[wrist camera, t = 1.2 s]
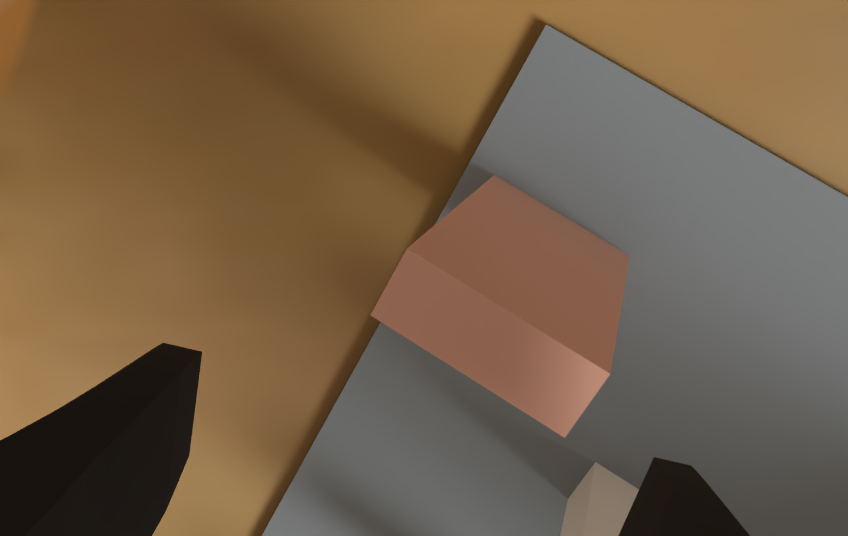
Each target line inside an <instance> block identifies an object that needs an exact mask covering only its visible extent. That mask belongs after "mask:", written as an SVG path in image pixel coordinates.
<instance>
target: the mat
mask: <svg viewBox="0 0 848 536" xmlns="http://www.w3.org/2000/svg"><path fill="white" fill-rule="evenodd" d="M494 175H496V176H497V177H499V178H501V179H502V180H504V181H506V182H507V183H509V184H511V185H512V186H514V187H516V188H517V189H519V190H521V191H522V192H524V193H526V194H527V195H529V196H531V197H532V198H534V199H536V200H537V201H539V202H541V203H542V204H544V205H546V206H547V207H549V208H551V209H552V210H554V211H556V212H557V213H559V214H561V215H562V216H564V217H566V218H567V219H569V220H571V221H572V222H574V223H576V224H577V225H579V226H581V227H582V228H584V229H586V230H587V231H589V232H591V233H592V234H594V235H596V236H597V237H599V238H601V239H602V240H604V241H606V242H608V243H609V244H611V245H613V246H614V247H616V248H618V249H619V250H621V251H623V252H624V253H626V254H628V255H629V256H630V257H629V263H628V269H627V276H626V282H625V288H624V294H623V300H622V306H621V312H620V318H619V324H618V330H617V337H616V343H615V349H614V355H613V361H612V367H611V373H610V375H609V377H608V378H607V379H606V381H605V382H604V384H603V385H602V386H601V388H600V389H599V391H598V392H597V393H596V395H595V396H594V398H593V399H592V400H591V402H590V403H589V405H588V406H587V407H586V409H585V410H584V412H583V413H582V414H581V416H580V417H579V419H578V420H577V421H576V423H575V424H574V426H573V427H572V428H571V430H570V431H569V433H568V434H567V435H566V437H565V438H564V437H563V436H561V435H559V434H558V433H556V432H555V431H553V430H551V429H550V428H548V427H547V426H545V425H544V424H542V423H540V422H539V421H537V420H536V419H534V418H532V417H531V416H529V415H528V414H526V413H524V412H523V411H521V410H520V409H518V408H517V407H515V406H513V405H512V404H510V403H509V402H507V401H505V400H504V399H502V398H501V397H499V396H498V395H496V394H494V393H493V392H491V391H490V390H488V389H486V388H485V387H483V386H482V385H480V384H478V383H477V382H475V381H474V380H472V379H471V378H469V377H467V376H466V375H464V374H463V373H461V372H459V371H458V370H456V369H455V368H453V367H451V366H450V365H448V364H447V363H445V362H444V361H442V360H440V359H439V358H437V357H436V356H434V355H432V354H431V353H429V352H428V351H426V350H425V349H423V348H421V347H420V346H418V345H417V344H415V343H413V342H412V341H410V340H409V339H407V338H405V337H404V336H402V335H401V334H399V333H398V332H396V331H394V330H393V329H391V328H390V327H388V326H386V325H385V324H383V323H382V322H380V324H379V326H378V328H377V329H376V331H375V333H374V335H373V337H372V338H371V340H370V342H369V344H368V346H367V347H366V349H365V351H364V353H363V355H362V356H361V358H360V360H359V362H358V364H357V365H356V367H355V369H354V371H353V372H352V374H351V376H350V378H349V380H348V381H347V383H346V385H345V387H344V389H343V390H342V392H341V394H340V396H339V398H338V399H337V401H336V403H335V405H334V407H333V408H332V410H331V412H330V414H329V416H328V417H327V419H326V421H325V423H324V425H323V426H322V428H321V430H320V432H319V434H318V435H317V437H316V439H315V441H314V443H313V444H312V446H311V448H310V450H309V452H308V453H307V455H306V457H305V459H304V461H303V462H302V464H301V466H300V468H299V470H298V471H297V473H296V475H295V477H294V479H293V480H292V482H291V484H290V486H289V488H288V489H287V491H286V493H285V495H284V497H283V498H282V500H281V502H280V504H279V506H278V507H277V509H276V511H275V513H274V515H273V516H272V518H271V520H270V522H269V524H268V525H267V527H266V529H265V531H264V532H263V534H262V536H560V534H561V529H562V525H563V520H564V515H565V510H566V506H567V501H568V498H569V497H570V496H571V494H572V493H573V492H574V490H575V489H576V488H577V486H578V485H579V483H580V482H581V481H582V479H583V478H584V477H585V475H586V474H587V473H588V471H589V470H590V469H591V467H592V466H593V465H594V463H595V462H596V463H598V464H599V465H601V466H603V467H604V468H606V469H607V470H609V471H611V472H612V473H614V474H615V475H617V476H618V477H620V478H622V479H623V480H625V481H626V482H628V483H630V484H631V485H633V486H634V487H636V488H637V489H640V487H641V484H642V482H643V480H644V478H645V476H646V473H647V471H648V469H649V467H650V465H651V462H652V460H653V458H654V457H656V458H661V459H665V460H669V461H674V462H678V463H682V464H687V465H691V466H692V467H693V468H694V469H695V470H696V471H697V472H698V473H699V474H700V476H701V477H702V478H703V479H704V480H705V481H706V482H707V484H708V485H709V486H710V487H711V488H712V490H713V491H714V492H715V493H716V495H717V496H718V497H719V498H720V499H721V501H722V502H723V503H724V504H725V506H726V507H727V508H728V509H729V510H730V512H731V513H732V514H733V515H734V517H735V518H736V519H737V520H738V522H739V523H740V524H741V525H742V526H743V528H744V529H745V530H746V531H747V533H748V534H749V535H750V536H848V196H846V195H845V194H843V193H841V192H839V191H838V190H836V189H834V188H832V187H831V186H829V185H827V184H825V183H824V182H822V181H820V180H818V179H817V178H815V177H813V176H811V175H810V174H808V173H806V172H804V171H803V170H801V169H799V168H797V167H796V166H794V165H792V164H790V163H789V162H787V161H785V160H783V159H782V158H780V157H778V156H776V155H775V154H773V153H771V152H769V151H768V150H766V149H764V148H762V147H761V146H759V145H757V144H755V143H754V142H752V141H750V140H749V139H747V138H745V137H743V136H742V135H740V134H738V133H736V132H735V131H733V130H731V129H729V128H728V127H726V126H724V125H722V124H721V123H719V122H717V121H715V120H714V119H712V118H710V117H708V116H707V115H705V114H703V113H701V112H700V111H698V110H696V109H694V108H693V107H691V106H689V105H687V104H686V103H684V102H682V101H680V100H679V99H677V98H675V97H673V96H672V95H670V94H668V93H666V92H665V91H663V90H661V89H659V88H658V87H656V86H654V85H652V84H651V83H649V82H647V81H645V80H644V79H642V78H640V77H638V76H637V75H635V74H633V73H632V72H630V71H628V70H626V69H625V68H623V67H621V66H619V65H618V64H616V63H614V62H612V61H611V60H609V59H607V58H605V57H604V56H602V55H600V54H598V53H597V52H595V51H593V50H591V49H590V48H588V47H586V46H584V45H583V44H581V43H579V42H577V41H576V40H574V39H572V38H570V37H569V36H567V35H565V34H563V33H562V32H560V31H558V30H556V29H555V28H553V27H551V26H549V25H546V26H545V27H544V29H543V31H542V33H541V35H540V36H539V38H538V40H537V42H536V43H535V45H534V47H533V49H532V51H531V52H530V54H529V56H528V58H527V60H526V61H525V63H524V65H523V67H522V69H521V70H520V72H519V74H518V76H517V78H516V79H515V81H514V83H513V85H512V87H511V88H510V90H509V92H508V94H507V96H506V97H505V99H504V101H503V103H502V105H501V106H500V108H499V110H498V112H497V114H496V115H495V117H494V119H493V121H492V123H491V124H490V126H489V128H488V130H487V132H486V133H485V135H484V137H483V139H482V141H481V142H480V144H479V146H478V148H477V150H476V151H475V153H474V155H473V157H472V159H471V160H470V162H469V164H468V166H467V168H466V169H465V171H464V173H463V175H462V177H461V178H460V180H459V182H458V184H457V186H456V187H455V189H454V191H453V193H452V195H451V196H450V198H449V200H448V202H447V203H446V205H445V207H444V209H443V211H442V212H441V214H440V216H439V218H438V220H437V221H436V223H435V224H437V223H438V222H439V221H440V220H441V219H442V218H444V217H445V216H446V215H447V214H448V213H450V212H451V211H452V210H453V209H454V208H456V207H457V206H458V205H459V204H460V203H462V202H463V201H464V200H465V199H466V198H467V197H469V196H470V195H471V194H472V193H473V192H475V191H476V190H477V189H478V188H479V187H481V186H482V185H483V184H484V183H485V182H487V181H488V180H489V179H490V178H491V177H492V176H494Z"/></svg>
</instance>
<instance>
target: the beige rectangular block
mask: <svg viewBox="0 0 848 536" xmlns="http://www.w3.org/2000/svg"><path fill="white" fill-rule="evenodd" d="M638 491H639V489H637V488H636V487H634V486H633V485H631V484H630V483H628V482H626V481H625V480H623V479H622V478H620V477H618V476H617V475H615V474H614V473H612V472H611V471H609V470H607V469H606V468H604V467H603V466H601V465H599V464H598V463H596V462H595V463H594V465H593V466H592V467H591V469H590V470H589V471H588V473H587V474H586V475H585V477H584V478H583V479H582V481H581V482H580V483H579V485H578V486H577V488H576V489H575V490H574V492H573V493H572V494H571V496H570V497H569V498H568V501H567V506H566V510H565V515H564V520H563V525H562V529H561V534H560V536H618V535H619V533H620V531H621V529H622V527H623V524H624V522H625V520H626V518H627V515H628V513H629V511H630V509H631V507H632V504H633V502H634V500H635V498H636V496H637V493H638Z"/></svg>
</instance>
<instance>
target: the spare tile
mask: <svg viewBox="0 0 848 536" xmlns="http://www.w3.org/2000/svg"><path fill="white" fill-rule="evenodd" d="M629 257H630V256H629V255H628V254H626V253H624V252H623V251H621V250H619V249H618V248H616V247H614V246H613V245H611V244H609V243H608V242H606V241H604V240H602V239H601V238H599V237H597V236H596V235H594V234H592V233H591V232H589V231H587V230H586V229H584V228H582V227H581V226H579V225H577V224H576V223H574V222H572V221H571V220H569V219H567V218H566V217H564V216H562V215H561V214H559V213H557V212H556V211H554V210H552V209H551V208H549V207H547V206H546V205H544V204H542V203H541V202H539V201H537V200H536V199H534V198H532V197H531V196H529V195H527V194H526V193H524V192H522V191H521V190H519V189H517V188H516V187H514V186H512V185H511V184H509V183H507V182H506V181H504V180H502V179H501V178H499V177H497V176H496V175H494V176H492V177H491V178H490V179H489V180H488V181H487V182H485V183H484V184H483V185H482V186H481V187H479V188H478V189H477V190H476V191H475V192H473V193H472V194H471V195H470V196H469V197H467V198H466V199H465V200H464V201H463V202H462V203H460V204H459V205H458V206H457V207H456V208H454V209H453V210H452V211H451V212H450V213H448V214H447V215H446V216H445V217H444V218H442V219H441V220H440V221H439V222H438V223H437V224H435V225H434V226H433V227H432V228H431V229H429V230H428V231H427V232H426V233H425V234H423V235H422V236H421V237H420V238H419V239H417V240H416V241H415V242H414V243H413V244H411V245H410V246H409V247H408V248H407V249H406V251H405V253H404V255H403V256H402V258H401V260H400V262H399V264H398V266H397V267H396V269H395V271H394V273H393V275H392V276H391V278H390V280H389V282H388V284H387V286H386V287H385V289H384V291H383V293H382V295H381V297H380V298H379V300H378V302H377V304H376V306H375V307H374V309H373V311H372V313H371V316H372V317H374V318H375V319H377V320H379V321H380V322H382V323H383V324H385V325H386V326H388V327H390V328H391V329H393V330H394V331H396V332H398V333H399V334H401V335H402V336H404V337H405V338H407V339H409V340H410V341H412V342H413V343H415V344H417V345H418V346H420V347H421V348H423V349H425V350H426V351H428V352H429V353H431V354H432V355H434V356H436V357H437V358H439V359H440V360H442V361H444V362H445V363H447V364H448V365H450V366H451V367H453V368H455V369H456V370H458V371H459V372H461V373H463V374H464V375H466V376H467V377H469V378H471V379H472V380H474V381H475V382H477V383H478V384H480V385H482V386H483V387H485V388H486V389H488V390H490V391H491V392H493V393H494V394H496V395H498V396H499V397H501V398H502V399H504V400H505V401H507V402H509V403H510V404H512V405H513V406H515V407H517V408H518V409H520V410H521V411H523V412H524V413H526V414H528V415H529V416H531V417H532V418H534V419H536V420H537V421H539V422H540V423H542V424H544V425H545V426H547V427H548V428H550V429H551V430H553V431H555V432H556V433H558V434H559V435H561V436H563V437H564V438H565V437H566V435H567V434H568V433H569V431H570V430H571V428H572V427H573V426H574V424H575V423H576V421H577V420H578V419H579V417H580V416H581V414H582V413H583V412H584V410H585V409H586V407H587V406H588V405H589V403H590V402H591V400H592V399H593V398H594V396H595V395H596V393H597V392H598V391H599V389H600V388H601V386H602V385H603V384H604V382H605V381H606V379H607V378H608V377H609V375H610V373H611V367H612V361H613V355H614V349H615V343H616V337H617V330H618V324H619V318H620V312H621V306H622V300H623V294H624V288H625V282H626V276H627V269H628V263H629Z"/></svg>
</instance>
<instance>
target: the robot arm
mask: <svg viewBox="0 0 848 536" xmlns="http://www.w3.org/2000/svg"><path fill="white" fill-rule="evenodd" d="M201 356H202V352H200V351H196V350H192V349H187V348H183V347H179V346H175V345H170V344H166V343H162V344H160V345H159V346H157V347H155V348H154V349H152V350H150V351H149V352H147V353H146V354H144V355H143V356H141V357H140V358H138V359H137V360H135V361H134V362H132V363H131V364H129V365H127V366H126V367H124V368H123V369H121V370H120V371H118V372H117V373H115V374H114V375H112V376H111V377H109V378H108V379H106V380H104V381H103V382H101V383H100V384H98V385H97V386H95V387H93V388H92V389H90V390H88V391H87V392H85V393H84V394H82V395H80V396H79V397H77V398H75V399H74V400H72V401H70V402H69V403H67V404H66V405H64V406H62V407H61V408H59V409H57V410H55V411H54V412H52V413H50V414H48V415H47V416H45V417H43V418H41V419H39V420H37V421H36V422H34V423H32V424H30V425H28V426H26V427H25V428H23V429H21V430H19V431H17V432H16V433H14V434H12V435H10V436H8V437H6V438H4V439H2V440H0V536H152V534H153V533H154V531H155V529H156V527H157V526H158V524H159V522H160V520H161V519H162V517H163V515H164V513H165V511H166V509H167V507H168V504H169V502H170V500H171V497H172V495H173V493H174V490H175V488H176V486H177V483H178V481H179V479H180V476H181V474H182V471H183V469H184V466H185V464H186V462H187V459H188V457H189V452H190V444H191V436H192V428H193V420H194V412H195V404H196V396H197V388H198V380H199V372H200V364H201ZM618 536H750V535H749V534H748V533H747V531H746V530H745V529H744V528H743V526H742V525H741V524H740V523H739V522H738V520H737V519H736V518H735V517H734V515H733V514H732V513H731V512H730V510H729V509H728V508H727V507H726V506H725V504H724V503H723V502H722V501H721V499H720V498H719V497H718V496H717V495H716V493H715V492H714V491H713V490H712V488H711V487H710V486H709V485H708V484H707V482H706V481H705V480H704V479H703V478H702V477H701V476H700V474H699V473H698V472H697V471H696V470H695V469H694V468H693V467H692V466H691V465H687V464H682V463H678V462H674V461H669V460H665V459H661V458H656V457H654V458H653V460H652V462H651V465H650V467H649V469H648V471H647V473H646V476H645V478H644V480H643V482H642V484H641V487H640V489H639V491H638V493H637V496H636V498H635V500H634V502H633V504H632V507H631V509H630V511H629V513H628V515H627V518H626V520H625V522H624V524H623V527H622V529H621V531H620V533H619V535H618Z"/></svg>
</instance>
